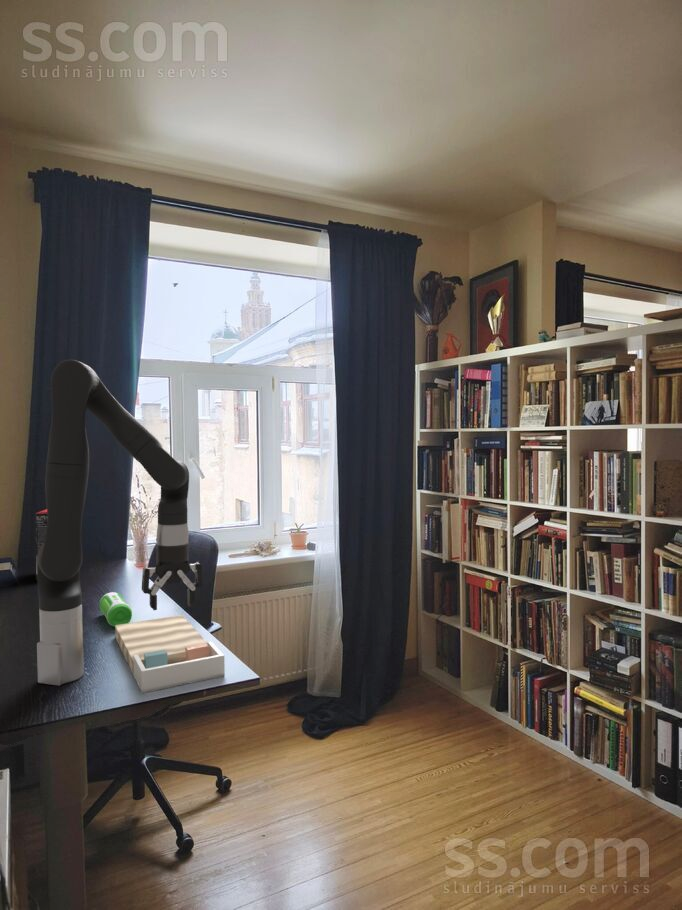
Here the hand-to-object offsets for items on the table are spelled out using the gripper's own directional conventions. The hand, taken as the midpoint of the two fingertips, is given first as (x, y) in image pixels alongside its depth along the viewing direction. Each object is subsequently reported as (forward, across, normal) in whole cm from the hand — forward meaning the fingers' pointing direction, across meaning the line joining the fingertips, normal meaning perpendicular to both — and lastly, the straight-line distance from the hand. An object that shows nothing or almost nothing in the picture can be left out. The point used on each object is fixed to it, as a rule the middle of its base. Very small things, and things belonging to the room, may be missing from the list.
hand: (172, 607), depth 146 cm
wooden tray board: (+15, 0, +16) cm, 22 cm away
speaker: (+16, -7, +46) cm, 49 cm away
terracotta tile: (+12, +5, -2) cm, 13 cm away
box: (+15, 0, -4) cm, 16 cm away
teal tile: (+12, -4, -1) cm, 13 cm away
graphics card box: (+16, -22, +118) cm, 121 cm away
